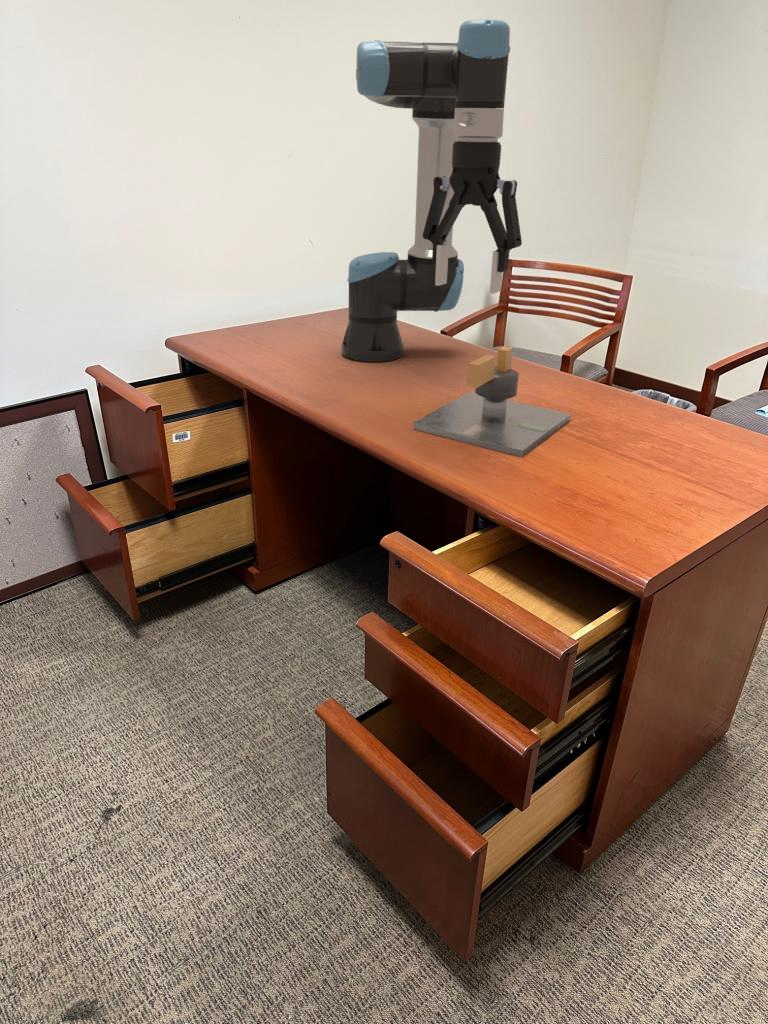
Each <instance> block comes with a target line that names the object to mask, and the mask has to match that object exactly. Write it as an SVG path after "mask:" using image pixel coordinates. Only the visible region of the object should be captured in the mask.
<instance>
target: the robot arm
mask: <svg viewBox="0 0 768 1024" xmlns="http://www.w3.org/2000/svg"><path fill="white" fill-rule="evenodd" d="M510 33H511V28H510V25H509V24H508V23H507V22H506V21H503V20H498V19H471V20H470V19H469V20H466V21H464V22H462V23H461V25H460V26H459V31H458V39H457V40H458V41H457V42H456V43H455V42H409V41H382V40H373V41H361V42H360V43H359V44H358V45H357V47H356V48H357V49H356V69H355V79H356V89H357V92H358V93H359V94H360V95H361V96H364V97H365V98H366V99H368V100H370V101H372V102H374V103H376V104H378V105H381V106H385V107H390V108H394V109H395V108H396V109H409V110H410V109H411V110H412V114H411V115H412V116H411V117H412V118H411V119H412V120H413V121H414V122H415V124H416V125H417V126H418V145H417V147H418V148H417V149H418V150H417V173H416V175H417V176H416V197H415V198H416V200H415V202H416V203H415V221H414V222H415V223H414V224H415V225H414V226H415V227H414V228H415V229H414V243H413V245H412V246H411V247H410V248H409V249H408V250H407V259H400V257H399V255H398V253H397V252H395V251H394V252H393V251H392V252H391V251H390V252H387V251H381V252H372V253H367V254H362V255H359V256H357V257H354V258H352V260H351V261H350V262H349V265H348V275H347V276H348V277H347V283H348V322H347V323H348V324H347V327H346V330H345V333H344V336H343V340H342V342H341V355H342V354H343V355H344V356H346V357H348V358H347V359H349V358H351V359H350V360H352V359H354V360H353V361H357V360H359V361H358V362H364V361H365V362H366V363H367V362H368V363H381V362H382V363H383V362H389V361H394V360H395V361H396V360H397V359H400V358H401V357H403V356H404V343H403V340H402V339H403V338H402V337H401V336H402V335H401V332H400V329H399V326H398V312H434V313H437V312H441V311H444V312H445V311H452V310H454V308H455V307H456V306H457V304H458V302H459V301H460V297H461V293H462V290H463V289H462V288H463V283H464V273H465V272H464V271H465V267H464V266H465V264H464V262H463V260H461V259H460V258H459V257H458V256H459V255H458V253H459V252H458V251H457V250H456V249H455V248H454V245H453V244H452V243H453V231H454V230H453V229H454V225H455V222H456V221H457V218H458V216H459V215H460V213H461V211H462V209H463V208H464V207H465V206H467V205H472V206H474V207H478V206H479V207H480V209H481V211H482V212H483V213H484V216H485V219H486V220H487V221H486V222H487V225H488V226H489V229H490V232H491V235H492V237H493V240H494V242H495V246H496V247H497V249H495V250H494V251H492V257H491V258H492V260H491V271H490V273H491V274H490V285H489V294H497V293H499V292H501V291H502V286H503V285H502V284H503V273H506V272H507V270H509V269H508V268H509V260H510V251H512V249H516V248H519V247H521V246H522V244H523V241H522V235H521V227H520V220H519V215H518V206H517V199H516V194H517V188H518V182H517V180H515V179H513V180H511V179H510V180H504V179H501V178H500V174H499V173H500V172H499V170H500V165H501V156H502V144H501V142H500V141H499V139H501V138H502V137H503V131H504V115H505V113H504V112H505V109H504V108H505V101H506V89H507V79H508V78H507V77H508V67H509V56H510V55H509V54H510V52H511V46H510V37H511V35H510ZM498 189H499V194H500V195H501V201H502V202H501V204H502V209H503V217H504V222H503V219H502V217H501V215H500V212H499V209H498V202H497V199H496V197H495V193H496V192H497V190H498ZM343 355H342V356H343ZM344 356H343V357H344ZM346 357H345V358H346Z"/></svg>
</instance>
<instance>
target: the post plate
mask: <svg viewBox="0 0 768 1024" xmlns="http://www.w3.org/2000/svg"><path fill="white" fill-rule="evenodd" d="M571 415H572V414H571V413H568V412H564V411H559V410H554V409H549V408H546V407H541V406H536V405H533V404H527V403H522V402H518V401H514V400H510V399H509V400H508V399H490V398H485V397H482V396H479V395H478V394H476V392H473V391H469V392H467V393H465V394H463V395H461V396H459V397H458V398H456V399H454V400H452V401H451V402H449V403H447V404H445V405H443V406H442V407H440V408H438V409H436V410H433V411H432V412H430V413H429V414H427V415H425V416H423V417H421V418H419V419H417V420H416V421H414V422H413V424H412V429H413V430H415V431H419V432H423V433H427V434H431V435H434V436H435V435H436V436H439V437H442V438H447V439H450V440H454V441H458V442H463V443H466V444H469V445H474V446H478V447H482V448H486V449H488V450H489V449H490V450H493V451H498V452H501V453H504V454H505V453H506V454H509V455H513V456H515V457H516V456H517V457H520V458H523V457H524V456H525V455H526V454H528V453H529V452H530V451H532V450H533V449H535V448H536V447H537V446H538V445H540V444H541V443H542V442H544V441H545V440H546V439H547V438H549V437H550V436H551V435H552V434H554V433H556V431H558V430H560V428H561V427H563V426H564V425H565V424H567V423H568V422H569V421H571V418H572V417H571Z"/></svg>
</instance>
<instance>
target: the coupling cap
mask: <svg viewBox="0 0 768 1024" xmlns="http://www.w3.org/2000/svg"><path fill="white" fill-rule="evenodd" d="M513 349H514V348H513V347H511V346H510V347H509V346H502V347H500V348H498V349H497V358H496V356H495V355H489V354H485V355H484V356H481V357H479V358H477V359H475V360H473V361H471V362H469V363H468V370H467V381H466V382H467V384H466V385H467V387H470V388H473V389H475V392H474V393H476V394H478V395H479V396H482V397H485V398H490V399H507V400H508V399H509V400H510V399H512V398H514V397H516V396H517V394H518V386H519V385H518V384H519V383H518V382H519V377H520V375H519V374H520V373H519V372H518V371H516V370H514V369H512V358H513Z"/></svg>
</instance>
